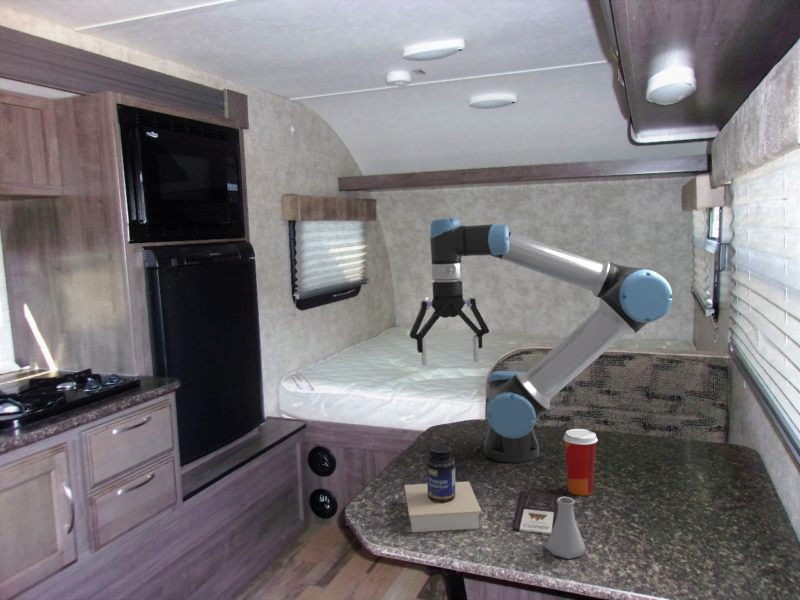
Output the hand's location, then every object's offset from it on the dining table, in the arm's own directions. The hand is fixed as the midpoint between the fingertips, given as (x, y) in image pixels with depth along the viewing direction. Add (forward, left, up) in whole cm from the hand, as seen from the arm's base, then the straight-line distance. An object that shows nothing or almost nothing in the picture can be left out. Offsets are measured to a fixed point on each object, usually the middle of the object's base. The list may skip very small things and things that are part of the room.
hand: (450, 363), depth 152 cm
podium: (+6, +25, -28) cm, 38 cm away
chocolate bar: (-15, +26, -29) cm, 42 cm away
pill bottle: (+6, +24, -25) cm, 35 cm away
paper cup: (-28, +17, -29) cm, 43 cm away
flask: (-16, +42, -29) cm, 53 cm away
